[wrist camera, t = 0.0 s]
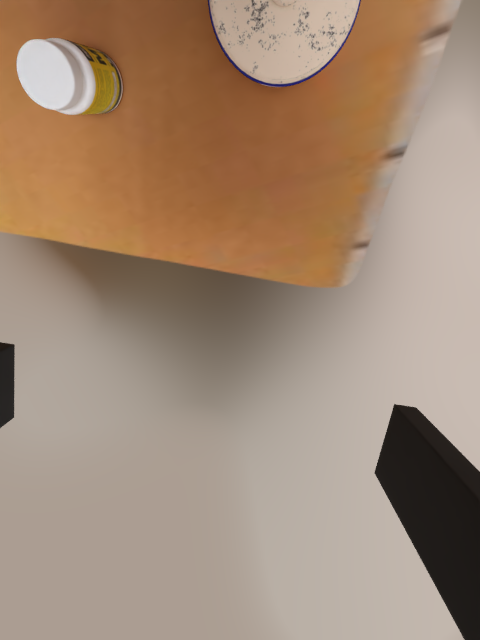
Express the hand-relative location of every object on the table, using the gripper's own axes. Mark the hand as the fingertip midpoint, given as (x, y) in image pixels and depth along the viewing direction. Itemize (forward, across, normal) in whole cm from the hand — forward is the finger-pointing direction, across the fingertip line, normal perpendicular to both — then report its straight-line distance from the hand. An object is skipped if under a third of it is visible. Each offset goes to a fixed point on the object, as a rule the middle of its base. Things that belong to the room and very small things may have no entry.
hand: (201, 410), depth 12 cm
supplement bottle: (+24, -15, +17) cm, 33 cm away
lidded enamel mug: (+21, 0, +24) cm, 32 cm away
